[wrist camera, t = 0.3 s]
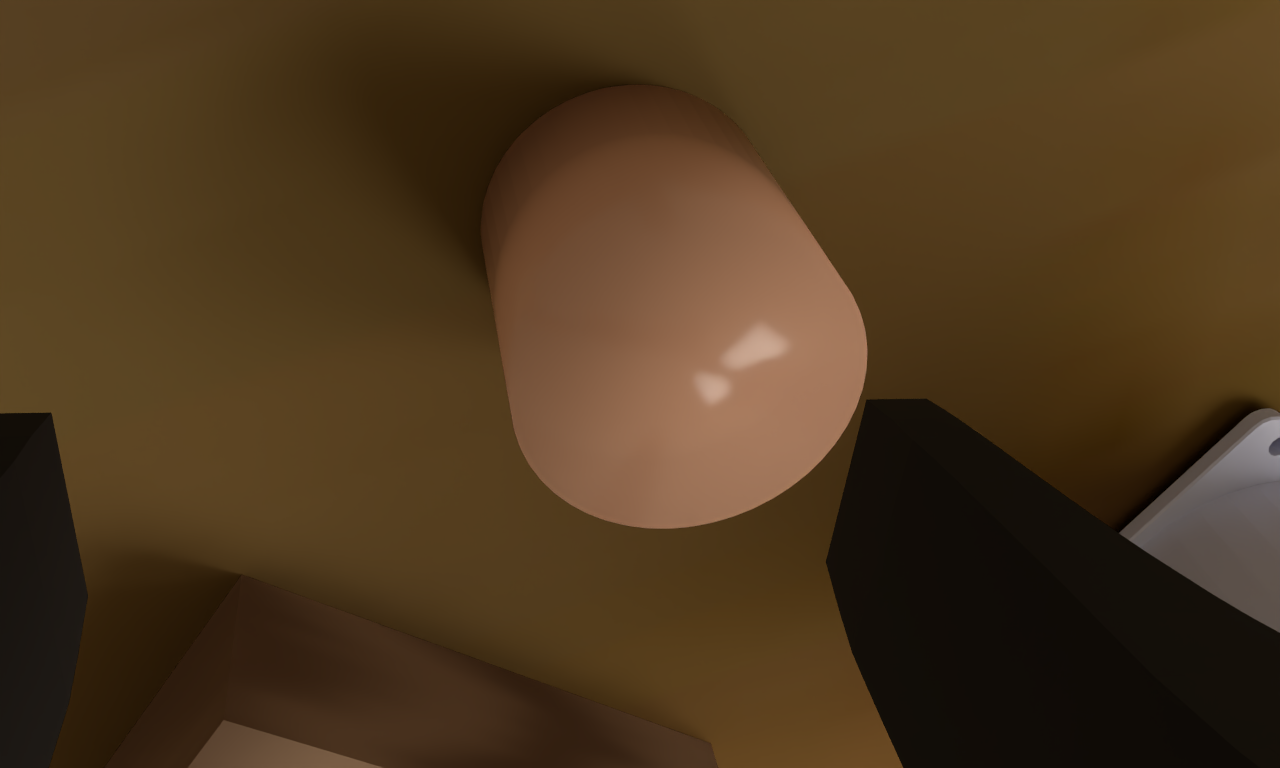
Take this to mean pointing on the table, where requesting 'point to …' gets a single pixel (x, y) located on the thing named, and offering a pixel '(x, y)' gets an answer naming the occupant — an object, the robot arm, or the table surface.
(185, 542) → the table surface
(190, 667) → the walnut block
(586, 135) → the terracotta cylinder
